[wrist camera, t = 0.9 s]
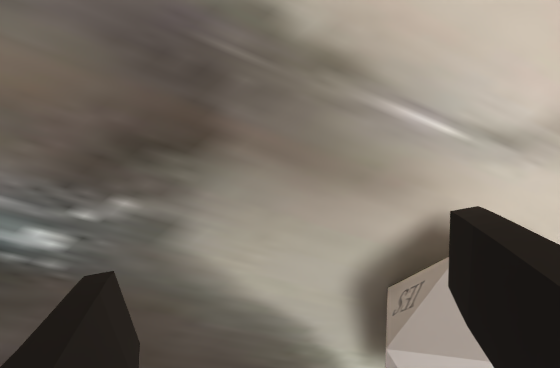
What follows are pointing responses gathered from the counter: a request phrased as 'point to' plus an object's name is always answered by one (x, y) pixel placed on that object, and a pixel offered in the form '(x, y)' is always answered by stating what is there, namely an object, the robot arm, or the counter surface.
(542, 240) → the robot arm
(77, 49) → the counter surface
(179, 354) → the counter surface
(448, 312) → the pale grey faceted polyhedron
